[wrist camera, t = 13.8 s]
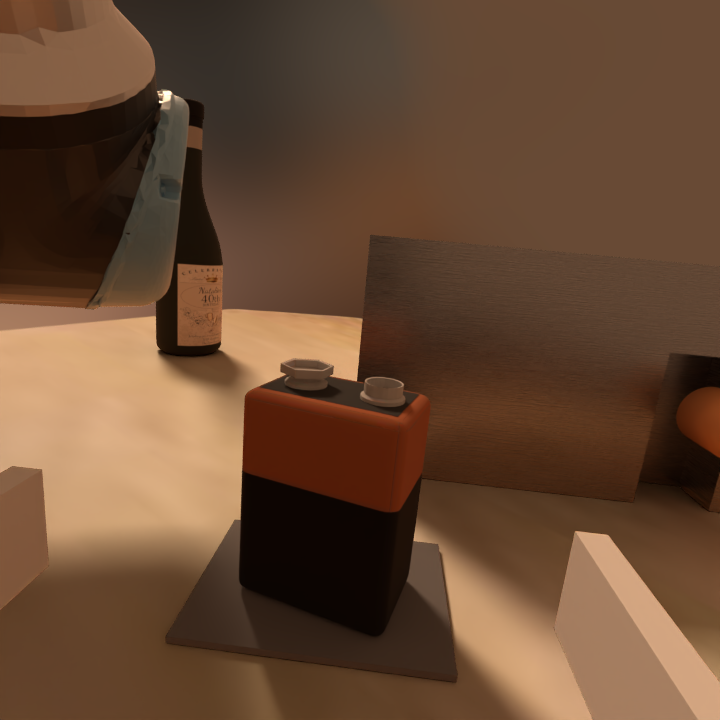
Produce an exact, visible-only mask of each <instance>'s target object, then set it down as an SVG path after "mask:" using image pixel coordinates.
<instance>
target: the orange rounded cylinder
mask: <svg viewBox="0 0 720 720" xmlns="http://www.w3.org/2000/svg"><path fill="white" fill-rule="evenodd" d="M676 421H677V425H678V428H679V429H680V431H681V432H682V433H683V434H684V435H685V436H686V437H688V438H689V439H691V440H692V441H694V442H696V443H697V444H699V445H700V446H702V447H703V448H705V449H706V450H708V451H710V452H711V453H713V454H714V455H716V456H717V457H719V458H720V388H718V387H704V388H700V389H697V390H695V391H693V392H691V393H690V394H689V395H687V396H686V397H685V398H684V399H683V401H682V402H681V403H680V405H679V407H678V410H677V414H676Z"/></svg>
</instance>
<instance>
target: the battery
mask: <svg viewBox="0 0 720 720" xmlns="http://www.w3.org/2000/svg"><path fill="white" fill-rule="evenodd" d="M333 368H334V366H333V365H330V364H328V363H325V362H323V361H320V360H312V359H291V360H288V361H285V362H283V363H281V370H280V372H282V373H285V374H287V375H284V376H282V377H280V378H277V379H275V380H273V381H270V382H268V383H266V384H264V385H261V386H259V387H257V388H254V389H252V390H250V391H249V392H248V393H247V394H246V396H245V406H244V436H243V465H242V495H241V524H240V554H239V582H240V584H241V585H242V586H243V587H245V588H247V589H249V590H252V591H254V592H257V593H260V594H262V595H265V596H267V597H270V598H273V599H275V600H278V601H281V602H283V603H286V604H289V605H291V606H294V607H297V608H299V609H302V610H304V611H307V612H310V613H312V614H315V615H318V616H320V617H323V618H326V619H328V620H331V621H334V622H336V623H339V624H341V625H344V626H347V627H349V628H352V629H355V630H357V631H360V632H363V633H366V634H368V635H372V636H379V635H381V634H382V633H383V632H384V630H385V629H386V626H387V624H388V622H389V620H390V617H391V615H392V613H393V611H394V608H395V606H396V604H397V601H398V599H399V597H400V595H401V592H402V590H403V588H404V585H405V583H406V581H407V578H408V575H409V570H410V563H411V555H412V547H413V539H414V532H415V524H416V516H417V509H418V501H419V493H420V486H421V478H422V470H423V463H424V455H425V447H426V439H427V432H428V424H429V416H430V408H431V404H430V401H429V399H428V398H427V397H426V396H424V395H422V394H418V393H413V392H409V391H403V388H404V384H403V383H402V382H401V381H399V380H395V379H391V378H385V377H371V378H367V379H366V380H365V383H362V382H357V381H352V380H346V379H341V378H336V377H331V376H330V375H332V374H333Z"/></svg>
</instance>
